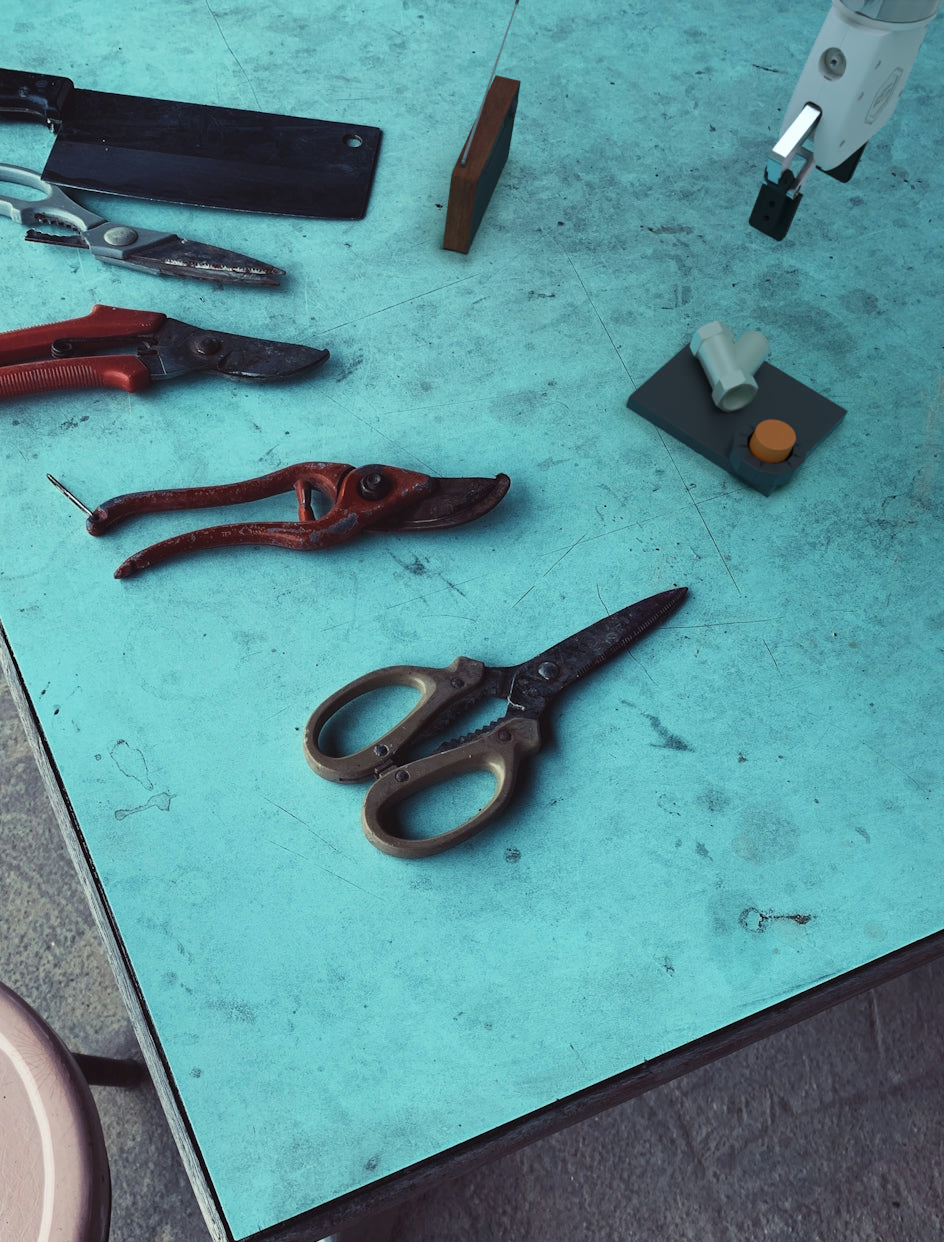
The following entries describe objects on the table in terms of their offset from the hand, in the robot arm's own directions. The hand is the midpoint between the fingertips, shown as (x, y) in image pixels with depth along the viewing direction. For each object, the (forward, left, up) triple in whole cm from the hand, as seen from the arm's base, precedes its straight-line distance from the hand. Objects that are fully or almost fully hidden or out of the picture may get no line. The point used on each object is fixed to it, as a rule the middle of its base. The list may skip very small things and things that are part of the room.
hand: (799, 202), depth 96 cm
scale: (-2, +2, -20) cm, 21 cm away
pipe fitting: (0, -1, -19) cm, 19 cm away
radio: (+35, -5, -20) cm, 41 cm away
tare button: (-8, +6, -18) cm, 20 cm away
